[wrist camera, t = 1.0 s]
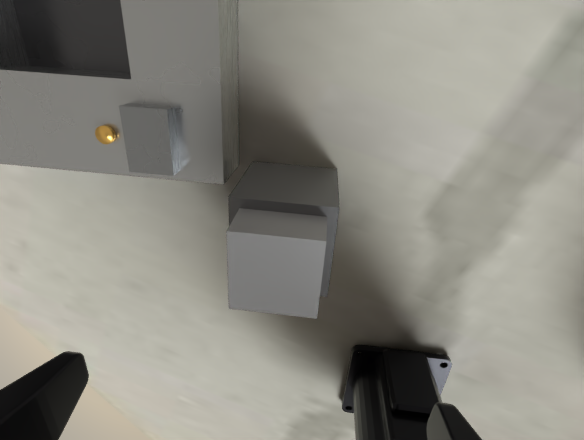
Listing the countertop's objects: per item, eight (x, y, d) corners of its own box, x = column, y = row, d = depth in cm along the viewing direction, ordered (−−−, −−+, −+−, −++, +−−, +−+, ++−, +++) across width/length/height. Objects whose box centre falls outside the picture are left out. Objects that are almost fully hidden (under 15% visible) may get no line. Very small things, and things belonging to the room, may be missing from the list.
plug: (327, 242, 20) (327, 328, 14) (252, 234, 20) (218, 315, 14) (337, 168, 18) (340, 231, 12) (253, 161, 18) (213, 218, 12)
